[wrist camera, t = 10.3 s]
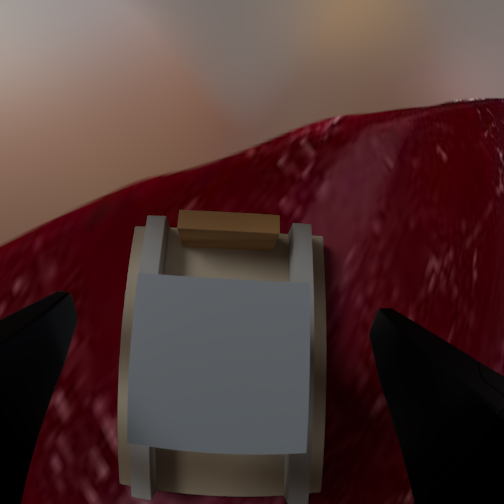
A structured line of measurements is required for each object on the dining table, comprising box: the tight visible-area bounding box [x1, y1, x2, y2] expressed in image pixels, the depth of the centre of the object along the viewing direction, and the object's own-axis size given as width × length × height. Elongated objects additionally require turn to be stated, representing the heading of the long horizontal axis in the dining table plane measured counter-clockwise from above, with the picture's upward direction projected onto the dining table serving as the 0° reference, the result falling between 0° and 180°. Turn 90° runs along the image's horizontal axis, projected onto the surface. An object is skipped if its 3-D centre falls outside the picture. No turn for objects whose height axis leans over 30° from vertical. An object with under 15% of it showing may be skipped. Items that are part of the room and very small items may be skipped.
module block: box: [127, 273, 310, 455], centre depth 11 cm, size 5×4×9 cm
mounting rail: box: [118, 210, 326, 504], centre depth 15 cm, size 15×11×4 cm
